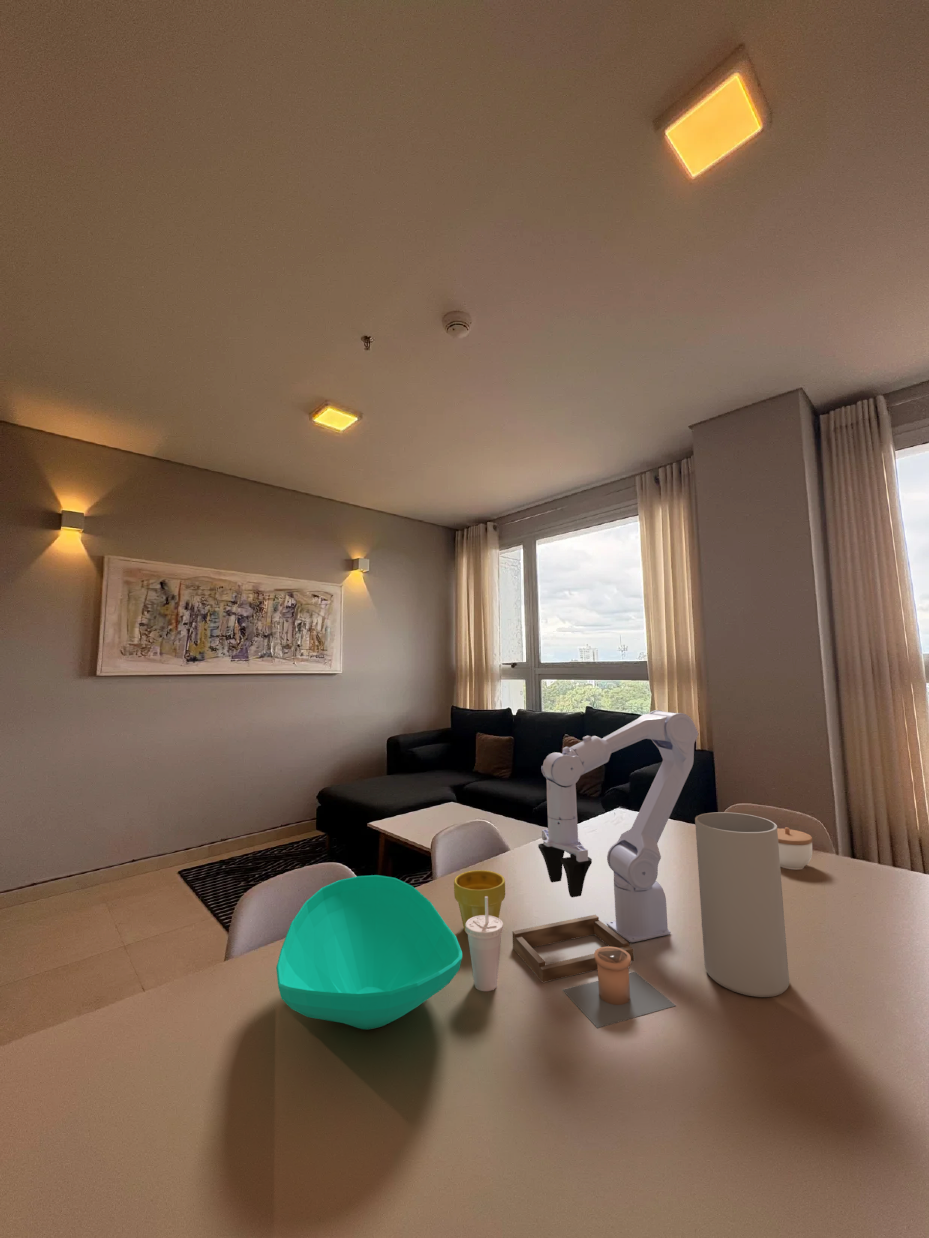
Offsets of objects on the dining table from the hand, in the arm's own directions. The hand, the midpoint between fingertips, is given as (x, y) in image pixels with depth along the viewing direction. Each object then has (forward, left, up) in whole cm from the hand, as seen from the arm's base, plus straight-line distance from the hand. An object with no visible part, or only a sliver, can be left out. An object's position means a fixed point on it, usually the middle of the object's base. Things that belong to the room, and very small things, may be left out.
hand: (565, 888), depth 104 cm
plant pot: (+14, -10, -10) cm, 20 cm away
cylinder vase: (-21, +22, -10) cm, 32 cm away
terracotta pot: (+2, +18, -9) cm, 21 cm away
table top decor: (+39, +8, -10) cm, 41 cm away
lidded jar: (-72, -12, -10) cm, 74 cm away
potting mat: (+2, +19, -9) cm, 21 cm away
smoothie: (+20, +8, -10) cm, 24 cm away
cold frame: (+2, +5, -9) cm, 11 cm away
